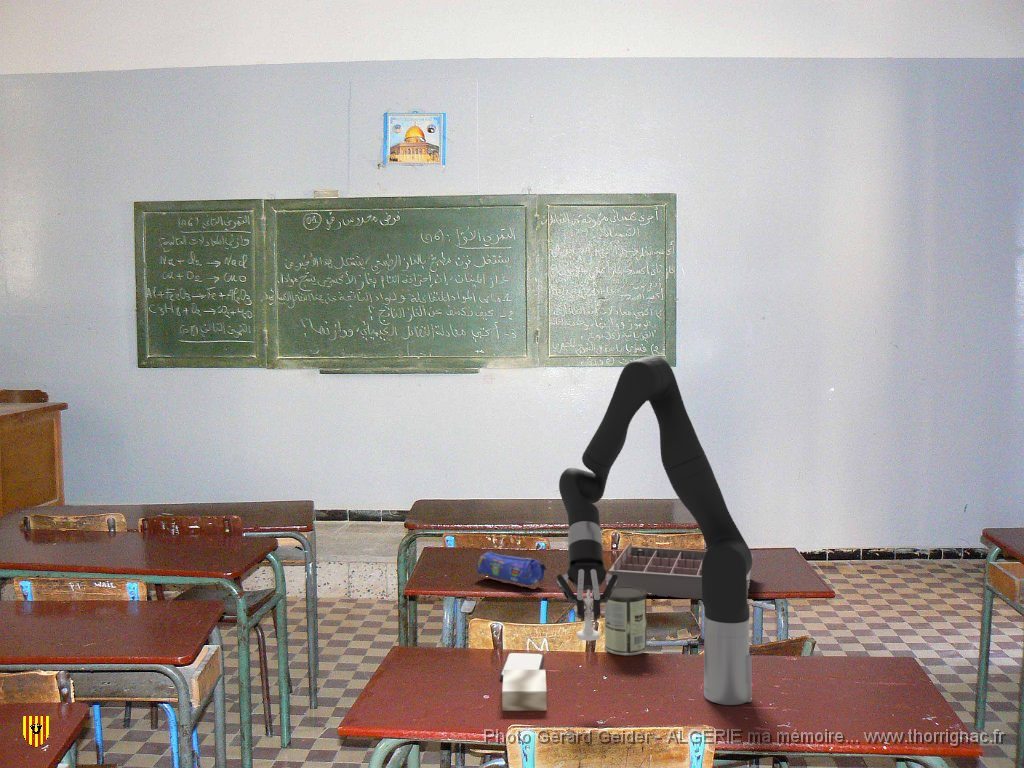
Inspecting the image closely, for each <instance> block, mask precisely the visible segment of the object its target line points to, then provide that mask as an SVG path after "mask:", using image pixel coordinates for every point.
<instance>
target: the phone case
mask: <svg viewBox="0 0 1024 768" xmlns="http://www.w3.org/2000/svg"><path fill="white" fill-rule="evenodd" d="M544 660H545V656H544V654H542V653H531V652H529V653H528V652H527V653H525V652H509V653H508V654H507V655H506V659H505V661H504V663H503V666H502V668H501V672H500V675H499V679H500V681H501V680H502V681H501V682H503V674H504V670H543V666H544Z"/></svg>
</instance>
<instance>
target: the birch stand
mask: <svg viewBox="0 0 1024 768" xmlns="http://www.w3.org/2000/svg"><path fill="white" fill-rule="evenodd" d="M501 691H502V692H501V693H502V695H501V696H502V699H501V700H502V701H501V703H502V705H501V706H502V708H501V710H502V712H503V711H507V712H508V711H509V712H510V711H512V712H513V711H515V712H516V711H518V712H520V711H527V712H528V711H533V712H534V711H535V712H536V711H537V712H538V711H541V712H542V711H547V706H548V705H547V704H548V701H547V693H548V692H547V676H546V669H541V670H504V674H503V681H502V690H501Z"/></svg>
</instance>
